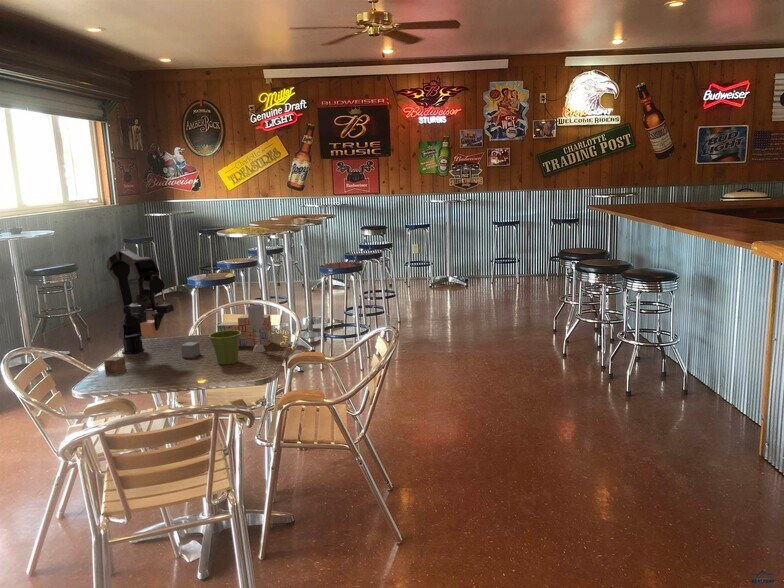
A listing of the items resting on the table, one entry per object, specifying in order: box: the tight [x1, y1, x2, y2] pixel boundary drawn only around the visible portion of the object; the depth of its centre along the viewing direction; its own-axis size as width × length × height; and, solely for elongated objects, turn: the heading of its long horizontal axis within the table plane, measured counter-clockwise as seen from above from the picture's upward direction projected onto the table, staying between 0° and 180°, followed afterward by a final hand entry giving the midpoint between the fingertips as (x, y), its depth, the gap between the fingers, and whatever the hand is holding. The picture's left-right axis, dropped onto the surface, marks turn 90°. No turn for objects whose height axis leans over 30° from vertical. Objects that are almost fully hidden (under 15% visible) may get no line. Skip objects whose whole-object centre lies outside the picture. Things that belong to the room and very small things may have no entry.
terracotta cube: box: [140, 319, 162, 337], centre depth 235 cm, size 5×5×5 cm
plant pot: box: [208, 330, 241, 366], centre depth 229 cm, size 12×12×11 cm
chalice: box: [245, 304, 266, 353], centre depth 243 cm, size 7×7×18 cm
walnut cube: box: [103, 356, 127, 375], centre depth 224 cm, size 5×5×5 cm
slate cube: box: [180, 341, 201, 359], centre depth 241 cm, size 5×5×5 cm
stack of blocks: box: [217, 314, 273, 347], centre depth 255 cm, size 21×6×12 cm, turn 85°
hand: (150, 330), depth 236 cm, fingers closed on terracotta cube, 5 cm apart
